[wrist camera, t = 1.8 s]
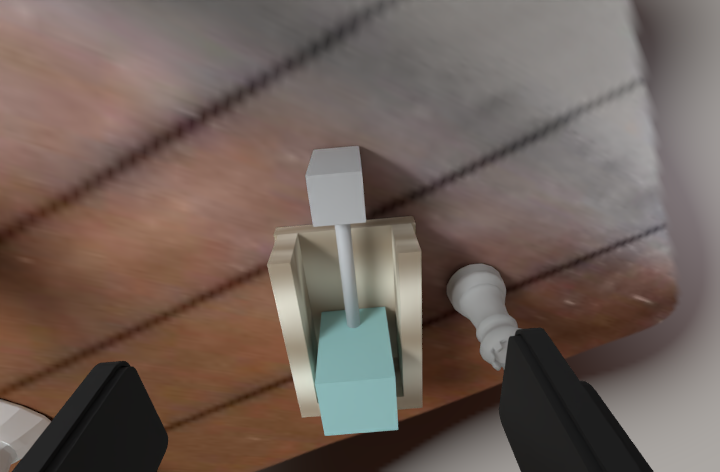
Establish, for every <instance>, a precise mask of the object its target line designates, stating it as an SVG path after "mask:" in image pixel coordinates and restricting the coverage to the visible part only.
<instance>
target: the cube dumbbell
mask: <svg viewBox="0 0 720 472" xmlns="http://www.w3.org/2000/svg"><path fill="white" fill-rule="evenodd" d="M305 177H306V184H307V190H308V197H309V203H310V210H311V216H312V223H313V227H319V226H330V225H335V232H336V240H337V248H338V256H339V264H340V272H341V280H342V288H343V296H344V304H345V310H339V311H327V312H322V313H321V324H320V335H319V346H318V356H317V367H316V378H315V387H316V392H317V397H318V402H319V408H320V413H321V418H322V423H323V428H324V434H325V436H327V435H339V434H352V433H364V432H376V431H387V430H398V418H397V399H396V380H395V371H394V364H393V358H392V351H391V344H390V337H389V330H388V323H387V316H386V310H385V307H374V308H363V309H359V305H358V295H357V286H356V276H355V266H354V256H353V247H352V237H351V227H350V224H353V223H365V222H366V215H365V203H364V190H363V178H362V167H361V159H360V151H359V146H349V147H338V148H327V149H315V150H313V153H312V156H311V159H310V163H309V166H308V169H307V172H306V176H305Z"/></svg>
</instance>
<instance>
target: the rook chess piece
mask: <svg viewBox="0 0 720 472" xmlns="http://www.w3.org/2000/svg"><path fill="white" fill-rule="evenodd" d="M447 296H448V298H449V300H450V302H451V303H452V305H453V307H454V309H455V310H456V311H458V312H459V313H460V314H462V315H463V316H465V317H467V318H468V319H470V320H471V322H472V323H473V325H474V326H475V327H476V329H477V331H476V336H477V338H478V340H479V341H480V342H481V345H480V354H481V356H482V358H483V359H484V360H485V361H487V362H488V363H490V364H492V366H493V368H495V369H496V370H498V371H499V370H500V369H501V367H503V369H504V368H505V361H506V353H507V346H508V339H509V337H510V336H515V332H516V331H517V330H518V329H520V328H518V325H517V322H516V320H515V319H514V318H512V317H511V316H509V314H508V313H507V310H506V307H505V296H506V287H505V284H504V282H503V279H502V278H501V276H500V273H499V272H498V271H497V270H496V269H494V268H493V267H492V266H489V265H485V264H471V265H467V266H465V267H463V268H460V269H459V270H458V271H457V272H456V273H455V274H454V275H453V276H452V277H451V279H450V281H449V282H448V284H447Z"/></svg>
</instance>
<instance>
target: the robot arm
mask: <svg viewBox="0 0 720 472" xmlns="http://www.w3.org/2000/svg"><path fill="white" fill-rule="evenodd" d="M499 414H500V419H501V423H502V426H503V428H504V431H505V433H506V436H507V438H508V441H509V443H510V445H511V448H512V450H513V452H514V455H515V458H516V460H517V463H518V465H519V467H520V470H521V472H653V470H652V469H651V467H650V466H649V465H648V463H647V462H646V461H645V459H644V458H643V456H642V455H641V453H640V452H639V451H638V449H637V448H636V446H635V445H634V444H633V442H632V441H631V440H630V438H629V437H628V435H627V434H626V432H625V431H624V430H623V428H622V427H621V425H620V424H619V423H618V421H617V420H616V419H615V417H614V416H613V414H612V413H611V411H610V410H609V409H608V407H607V406H606V404H605V403H604V402H603V400H602V399H601V397H600V396H599V395H598V393H597V392H596V391H595V390H594V388H593V387H592V386H591V385H590V384H588V383H587V382H585V381H579V379H578V378H577V376H576V375H575V374H574V372H573V371H572V369H571V368H570V366H569V365H568V363H567V362H566V360H565V359H564V358H563V356H562V355H561V353H560V352H559V350H558V349H557V347H556V346H555V344H554V343H553V342H552V340H551V339H550V337H549V336H548V334H547V333H546V332H545V330H544V329H542V328H530V329H518V330H517V331H516V332H515V336H510V337H509V339H508V346H507V353H506V361H505V368H504V376H503V383H502V392H501V398H500V407H499ZM167 445H168V435H167V433H166V431H165V429H164V427H163V424H162V422H161V420H160V418H159V416H158V414H157V412H156V410H155V408H154V406H153V404H152V402H151V400H150V398H149V396H148V393H147V391H146V389H145V387H144V385H143V383H142V381H141V379H140V377H139V375H138V373H137V371H136V369H135V368H134V367H130V365H129V364H128V363H127V362H126V361H118V362H106V363H99V364H97V365H96V366H95V367H94V368H93V369H92V370H91V372H90V373H89V374H88V375H87V377H86V378H85V379H84V381H83V382H82V383H81V384H80V386H79V387H78V388H77V389H76V391H75V392H74V393H73V395H72V396H71V397H70V398H69V400H68V401H67V402H66V403H65V405H64V406H63V407H62V409H61V410H60V411H59V412H58V414H57V415H56V416H55V417H54V419H53V420H52V421H51V423H50V424H49V425H48V426H47V428H46V429H45V430H44V431H43V433H42V434H41V435H40V437H39V438H38V439H37V440H36V442H35V443H34V444H33V445H32V447H31V448H30V449H29V451H28V452H27V453H26V454H25V456H24V457H23V458H22V459H21V461H20V462H19V463H18V464H17V466H16V467H15V468H14V470H13V471H12V472H157V470H158V467H159V465H160V463H161V461H162V458H163V456H164V454H165V452H166V449H167Z"/></svg>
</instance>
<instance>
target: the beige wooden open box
mask: <svg viewBox="0 0 720 472" xmlns="http://www.w3.org/2000/svg"><path fill="white" fill-rule="evenodd" d="M350 227H351V237H352V247H353V256H354V266H355V276H356V286H357V295H358V305H359V309H363V308H374V307H385V310H386V316H387V323H388V330H389V337H390V344H391V351H392V358H393V364H394V371H395V380H396V399H397V410H398V409H410V408H422V273H421V249H420V246H419V244H418V241H417V238H416V223H415V220H414V218H413V216H405V217H394V218H382V219H371V220H366V222H365V223H353V224H350ZM274 240H275V244H274V247H273V250H272V253H271V255H270V258H269V261H268V264H267V266H268V271H269V275H270V280H271V284H272V288H273V293H274V297H275V301H276V306H277V310H278V315H279V319H280V323H281V328H282V332H283V336H284V341H285V345H286V350H287V354H288V358H289V363H290V367H291V371H292V376H293V380H294V385H295V389H296V393H297V398H298V402H299V406H300V411H301V415H302V417H313V416H321V413H320V408H319V402H318V397H317V392H316V387H315V378H316V367H317V356H318V346H319V335H320V324H321V313H322V312H327V311H339V310H345V304H344V296H343V288H342V280H341V272H340V264H339V256H338V248H337V240H336V232H335V225H330V226H319V227H313V225H302V226H290V227H279V228H276V230H275V233H274Z"/></svg>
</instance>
